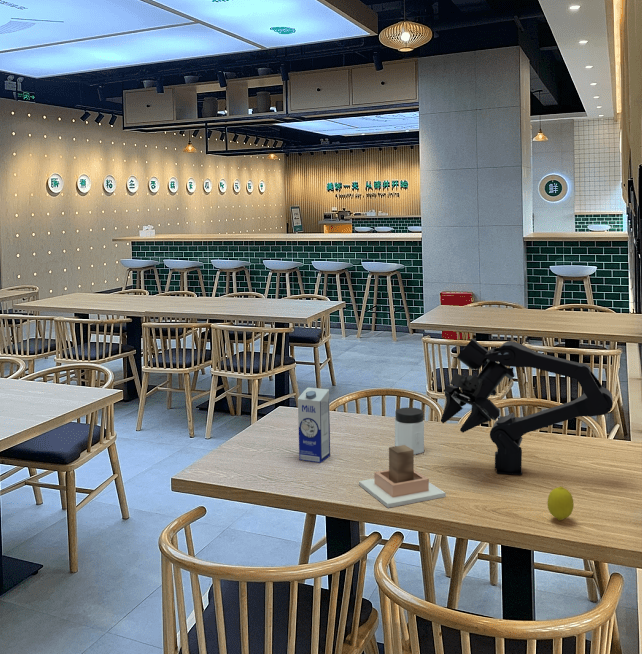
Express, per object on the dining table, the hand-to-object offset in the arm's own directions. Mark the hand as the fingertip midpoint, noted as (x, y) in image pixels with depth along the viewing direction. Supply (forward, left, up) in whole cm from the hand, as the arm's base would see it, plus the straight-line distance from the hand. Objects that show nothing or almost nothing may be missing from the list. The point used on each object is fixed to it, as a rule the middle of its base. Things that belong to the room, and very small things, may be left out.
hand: (451, 426), depth 185 cm
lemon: (-25, +23, -14) cm, 37 cm away
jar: (+13, -19, -14) cm, 27 cm away
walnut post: (+12, +12, -13) cm, 21 cm away
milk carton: (+39, -8, -14) cm, 42 cm away
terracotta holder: (+12, +12, -14) cm, 22 cm away
